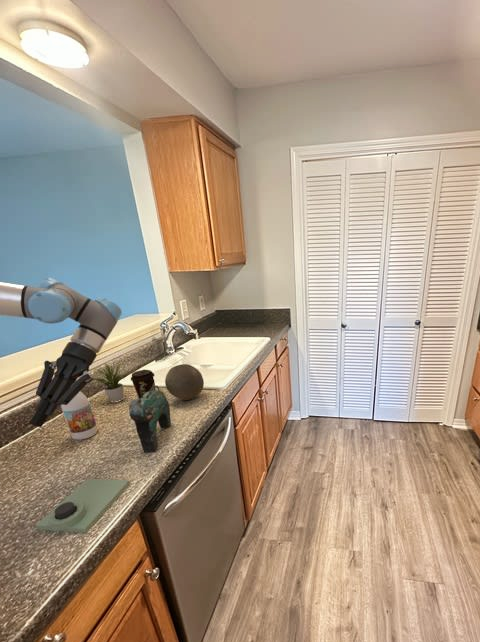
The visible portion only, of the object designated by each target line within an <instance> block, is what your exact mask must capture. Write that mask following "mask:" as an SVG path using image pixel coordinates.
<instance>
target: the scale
mask: <svg viewBox="0 0 480 642" xmlns="http://www.w3.org/2000/svg"><path fill="white" fill-rule="evenodd" d="M130 485H131V481H130V480H129V479H109V478H86V479H85V480H84V481H83V482H82V483H81V484H79V485H78V486H77V487H76V488H75V489H74V490H73V491H72V492H71V493H69V494H68V495H67V497H65V498H64V499H63V500H62V501H61V502H60V503H59V504H57V506H55V507H54V508H53V509H52V510H51V511H50V512H49V513H48V514H47V515H46V516H44V518H42V519H41V520H40V521H39V522H37V524H35V527H36V529H37V530H38V531H51V532H52V531H54V532H67V533H68V532H69V533H83V534H84V533H85V534H87V533H88V532H89V530H90V529H92V528H93V526H94V525H95V524H96V523H97V522H98V521H99V520H100V518H101V517H102V516H104V514H105V513H106V512H107V511H108V509H109V508H110V507H111V506H112V505H113V504H114V503H115V502H116V500H117V499H118V498H119V497H121V495H122V494H123V493H124V491H125V490H126V489H127V488H128V487H129V486H130ZM67 502H72V503H74V506H75V508H76V512H75V513H74V514H73V515H71V516H70V517H68V518H65V519H62V520H59V519H57V517H56V514H55V509H56V508H57V507H58V506H60V505H61V504H63V503H67Z"/></svg>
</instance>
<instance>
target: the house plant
mask: <svg viewBox="0 0 480 642" xmlns="http://www.w3.org/2000/svg"><path fill="white" fill-rule="evenodd" d="M125 362H126V360H124V361H122V362H120V363H116V364H115V365H114V366H112V365H110V366H109V364H107V363H106V362H105V363H104V366H105V369H103V368H101V367H99V366H98V367H97V368H98V369H97V368H96V369H95V368H91V370H93V371H96V372H98V373H99V374H100V375H101V376H102V377H103V378H102V377H97V376H96V377H95V376H92V377H93V378H94V379H93V380H95V382H94V383H93V385H95V384H97V383H101V384H104V385H106V386H105V387H103V390H104V392H105V394H106V396H107V398H108V400H109V402H110V401H113V402H115V401H119V400H122V399H123V398H124V399H125V391H124V384H123V383H120V381H121V380H122V379H124V376H125V374H120V370H122V368H123V367H122V368H121V366H122V364H123V363H125ZM117 365H118V366H117ZM116 366H117V367H116ZM115 368H116V369H115ZM114 371H115V372H114ZM96 372H95V374H96V375H98V373H96Z"/></svg>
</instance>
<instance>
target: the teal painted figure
mask: <svg viewBox="0 0 480 642" xmlns="http://www.w3.org/2000/svg"><path fill="white" fill-rule="evenodd" d="M143 385H145V386H146V384H142V385H141V387H140V393H141V396H142V398H141V399H139V398H135V399H132V400H131V401H130V403H129V406H128V413H129V417H130V419H131V420H132V421H133V422H134V425H135V428H136V433H137V436H138V439H139V441H140V446H141V448H142V451H143V453H145V454H146V453H147V454H148V453H156V452H157V450H158V448H159V444H158V436H157V435H158V434H157V433H158V432H157V431H158V430H157V426H158V425H159V428H160V429H161V428H162V429H169V428H171V425H172V420H171V407H170V404H169V400H168V398H167V396H166V395H165V394H164V392H163V391H162V390H160V388H159V386H158V385H155V386H153V387H152V388H151V389H150V391H148V392H147V393H145V394H144V395H142V392H141V391H142V386H143ZM153 388H155V389H156V388H157V390H155V391H152V389H153Z"/></svg>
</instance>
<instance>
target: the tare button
mask: <svg viewBox="0 0 480 642" xmlns="http://www.w3.org/2000/svg"><path fill="white" fill-rule="evenodd" d="M57 506H58V505H57ZM57 506H56V507H57ZM56 507H55V508H56ZM55 508H54V509H55ZM75 512H76V508H75V506H74V503H72V502H67V503H63V504H61V505H60V506H58V507H57V508H56V509H55V514H56V517H57V519H59V520H62V519H65V518H68V517H70V516H71V515H73V514H74V513H75Z"/></svg>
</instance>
